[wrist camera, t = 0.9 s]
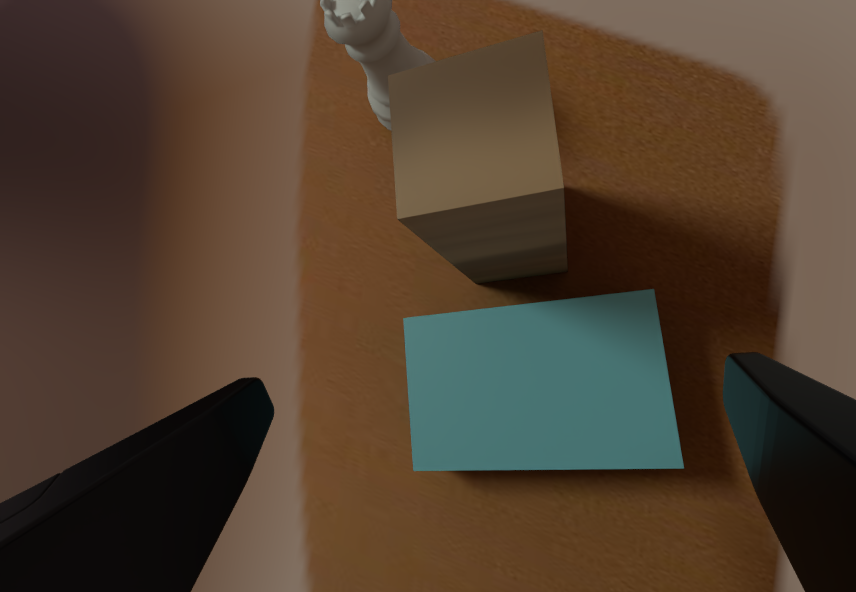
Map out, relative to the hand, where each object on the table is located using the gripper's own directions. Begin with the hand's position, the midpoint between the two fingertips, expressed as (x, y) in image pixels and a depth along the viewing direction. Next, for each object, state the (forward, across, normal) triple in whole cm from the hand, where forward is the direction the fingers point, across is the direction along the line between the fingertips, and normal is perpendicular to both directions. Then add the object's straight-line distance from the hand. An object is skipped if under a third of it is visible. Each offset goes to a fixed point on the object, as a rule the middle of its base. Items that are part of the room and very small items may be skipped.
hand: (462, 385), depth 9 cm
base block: (+11, 0, +8) cm, 14 cm away
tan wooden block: (+15, 0, +2) cm, 15 cm away
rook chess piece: (+21, +5, -5) cm, 22 cm away
